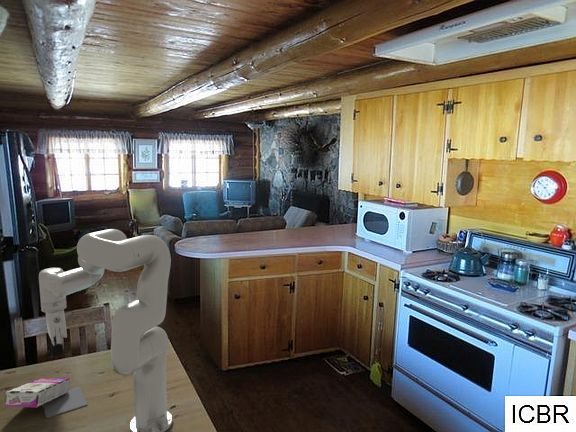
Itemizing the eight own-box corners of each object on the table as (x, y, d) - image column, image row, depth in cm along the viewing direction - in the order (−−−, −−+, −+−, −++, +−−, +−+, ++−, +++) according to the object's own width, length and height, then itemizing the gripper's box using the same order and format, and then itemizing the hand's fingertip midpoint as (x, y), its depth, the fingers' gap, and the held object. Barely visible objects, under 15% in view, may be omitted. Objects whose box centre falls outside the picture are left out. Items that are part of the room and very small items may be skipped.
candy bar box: (40, 392, 147) (3, 407, 130) (41, 377, 147) (4, 390, 131) (69, 392, 145) (36, 408, 129) (70, 377, 146) (37, 391, 130)
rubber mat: (87, 405, 139) (87, 404, 139) (46, 418, 132) (46, 417, 132) (79, 387, 150) (79, 386, 149) (40, 398, 142) (40, 397, 142)
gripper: (70, 308, 138) (73, 360, 141) (62, 295, 150) (65, 343, 153) (44, 313, 134) (48, 367, 136) (38, 300, 145) (42, 349, 148)
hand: (57, 354), depth 145 cm, fingers closed
